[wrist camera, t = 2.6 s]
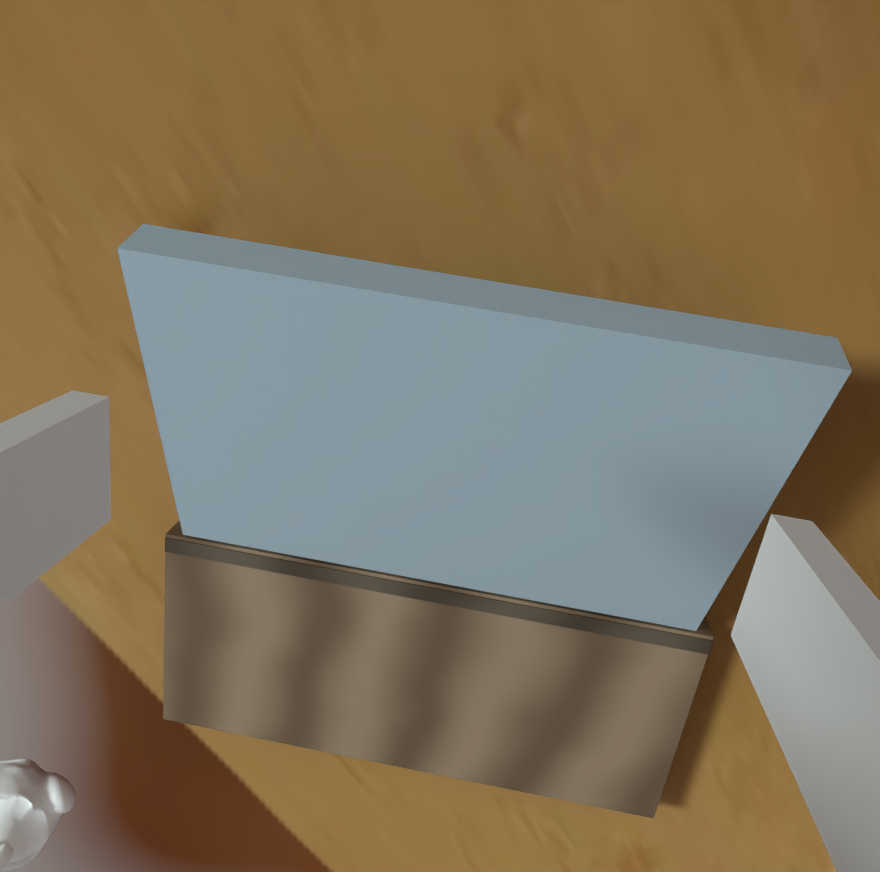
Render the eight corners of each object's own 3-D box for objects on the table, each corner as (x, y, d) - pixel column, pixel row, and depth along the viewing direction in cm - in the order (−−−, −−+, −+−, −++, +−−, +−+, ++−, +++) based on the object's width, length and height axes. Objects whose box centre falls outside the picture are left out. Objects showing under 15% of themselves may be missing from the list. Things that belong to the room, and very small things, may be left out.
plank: (198, 506, 38) (182, 534, 37) (142, 223, 27) (117, 248, 26) (691, 597, 37) (695, 630, 35) (837, 337, 26) (852, 370, 24)
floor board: (179, 695, 43) (162, 719, 41) (183, 516, 39) (165, 534, 37) (647, 789, 42) (653, 819, 40) (704, 614, 37) (714, 637, 35)
